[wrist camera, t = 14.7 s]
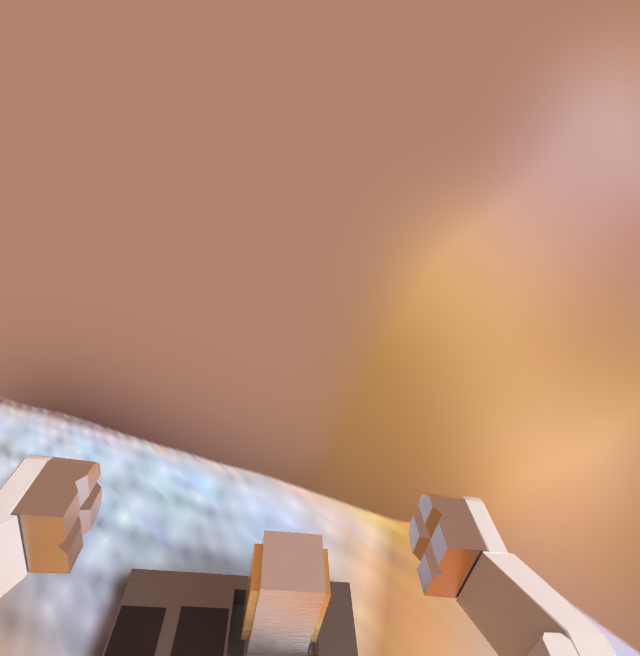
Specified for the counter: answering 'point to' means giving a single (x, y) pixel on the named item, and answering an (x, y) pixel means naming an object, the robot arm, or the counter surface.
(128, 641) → the rail
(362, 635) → the counter surface
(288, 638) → the brushed metal pillar
